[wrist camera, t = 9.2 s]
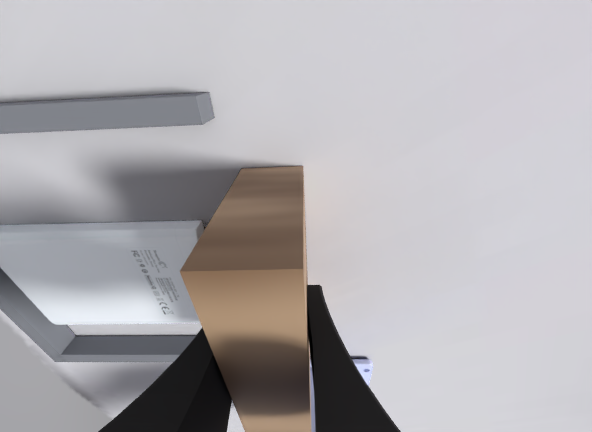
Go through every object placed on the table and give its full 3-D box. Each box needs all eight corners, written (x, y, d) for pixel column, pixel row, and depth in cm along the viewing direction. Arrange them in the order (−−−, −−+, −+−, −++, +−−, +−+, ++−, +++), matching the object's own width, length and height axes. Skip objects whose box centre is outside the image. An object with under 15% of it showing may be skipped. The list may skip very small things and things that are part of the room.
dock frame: (261, 342, 20) (258, 362, 18) (70, 343, 20) (55, 361, 19) (209, 92, 10) (195, 95, 9) (-142, 110, 11) (-201, 116, 10)
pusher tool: (308, 313, 17) (311, 441, 11) (267, 313, 18) (248, 440, 12) (303, 165, 12) (303, 268, 6) (241, 168, 12) (179, 271, 6)
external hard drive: (1, 219, 15) (204, 215, 14) (73, 308, 19) (231, 308, 18) (-31, 235, 13) (194, 231, 13) (54, 327, 18) (225, 327, 17)
